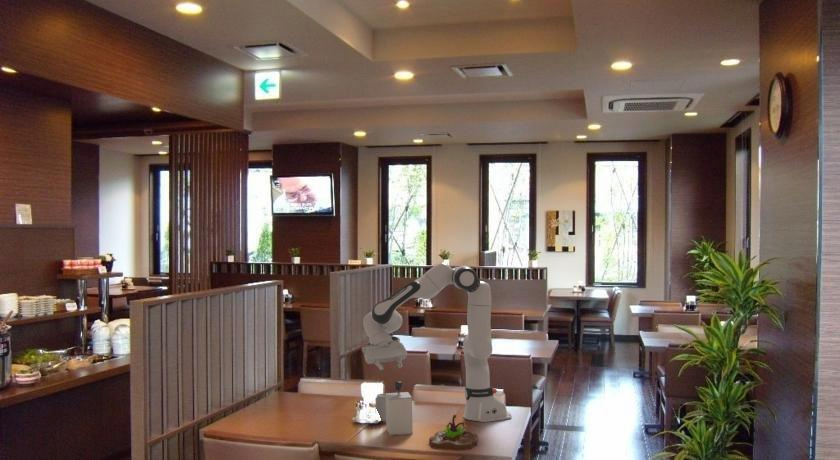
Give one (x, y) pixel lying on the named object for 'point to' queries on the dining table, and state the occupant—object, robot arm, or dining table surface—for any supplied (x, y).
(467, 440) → the plant
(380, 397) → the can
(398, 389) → the plunger
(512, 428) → the dining table surface
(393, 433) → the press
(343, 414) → the dining table surface
